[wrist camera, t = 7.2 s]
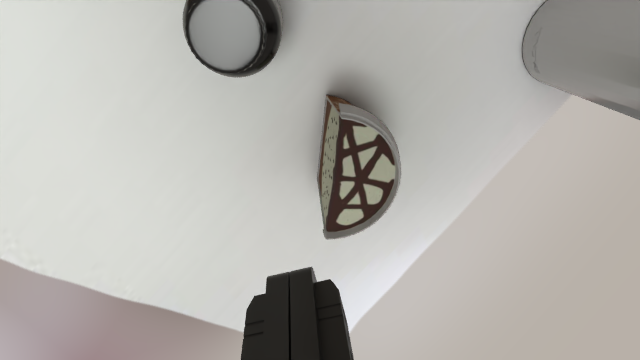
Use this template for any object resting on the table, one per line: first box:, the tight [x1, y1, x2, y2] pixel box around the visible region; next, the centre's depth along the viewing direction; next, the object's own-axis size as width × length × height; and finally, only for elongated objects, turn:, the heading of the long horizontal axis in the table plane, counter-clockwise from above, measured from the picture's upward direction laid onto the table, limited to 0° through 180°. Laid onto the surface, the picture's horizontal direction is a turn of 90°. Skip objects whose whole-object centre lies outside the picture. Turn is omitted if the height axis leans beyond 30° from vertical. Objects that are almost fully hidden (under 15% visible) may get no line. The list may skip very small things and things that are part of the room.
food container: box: [317, 95, 401, 239], centre depth 35 cm, size 12×6×10 cm, turn 174°
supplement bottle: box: [183, 0, 283, 77], centre depth 28 cm, size 7×7×12 cm
